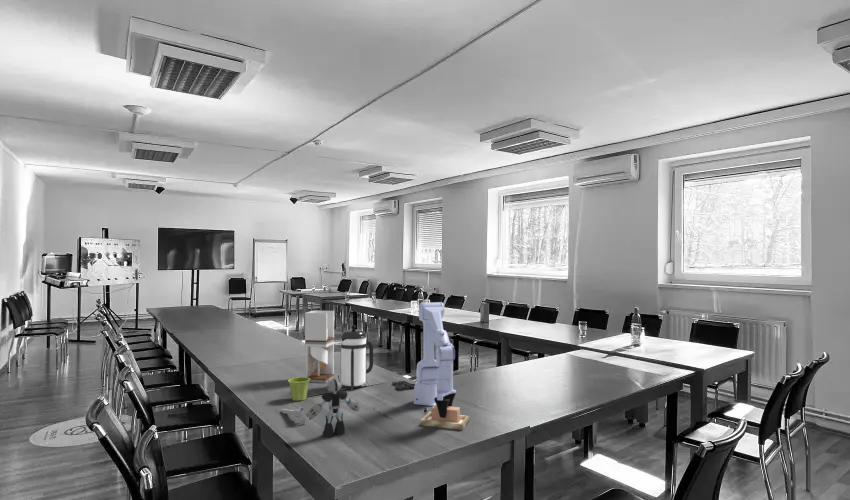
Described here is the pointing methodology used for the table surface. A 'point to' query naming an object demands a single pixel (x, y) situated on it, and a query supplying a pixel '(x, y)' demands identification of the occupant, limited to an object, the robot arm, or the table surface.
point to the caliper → (296, 414)
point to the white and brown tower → (319, 345)
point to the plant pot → (299, 388)
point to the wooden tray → (450, 425)
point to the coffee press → (354, 358)
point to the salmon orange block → (451, 415)
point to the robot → (333, 408)
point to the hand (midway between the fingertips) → (445, 414)
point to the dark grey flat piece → (403, 385)
